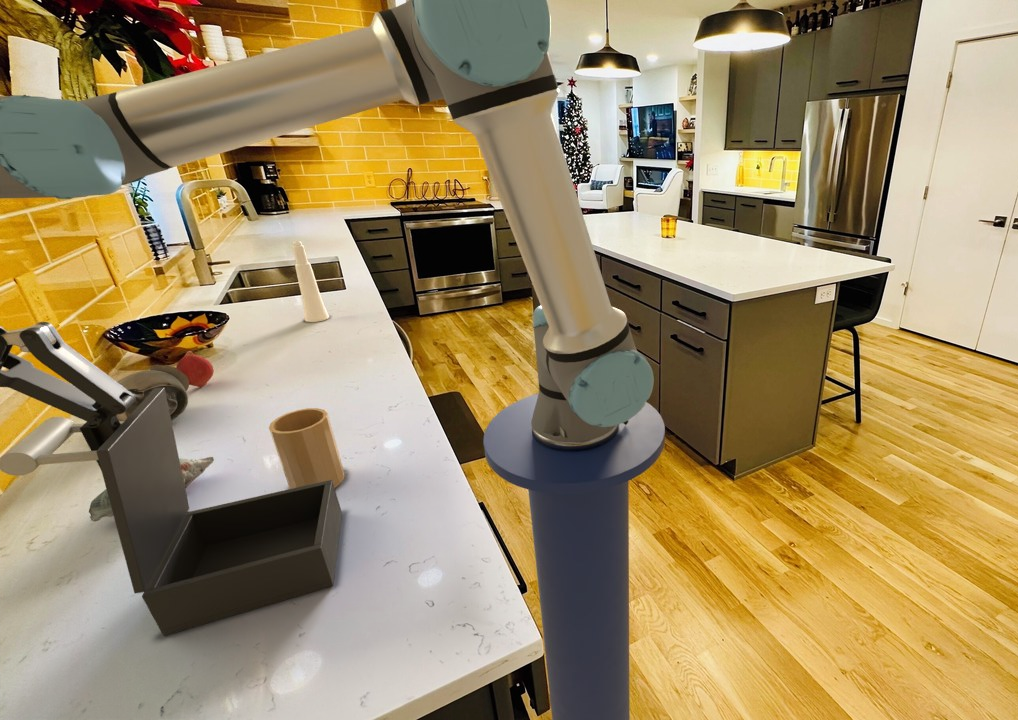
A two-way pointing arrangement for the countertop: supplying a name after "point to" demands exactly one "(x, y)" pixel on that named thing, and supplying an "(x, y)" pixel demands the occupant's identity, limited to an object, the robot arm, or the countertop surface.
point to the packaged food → (190, 472)
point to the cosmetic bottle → (308, 286)
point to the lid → (124, 478)
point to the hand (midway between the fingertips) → (28, 493)
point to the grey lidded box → (246, 556)
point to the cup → (307, 448)
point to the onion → (195, 369)
